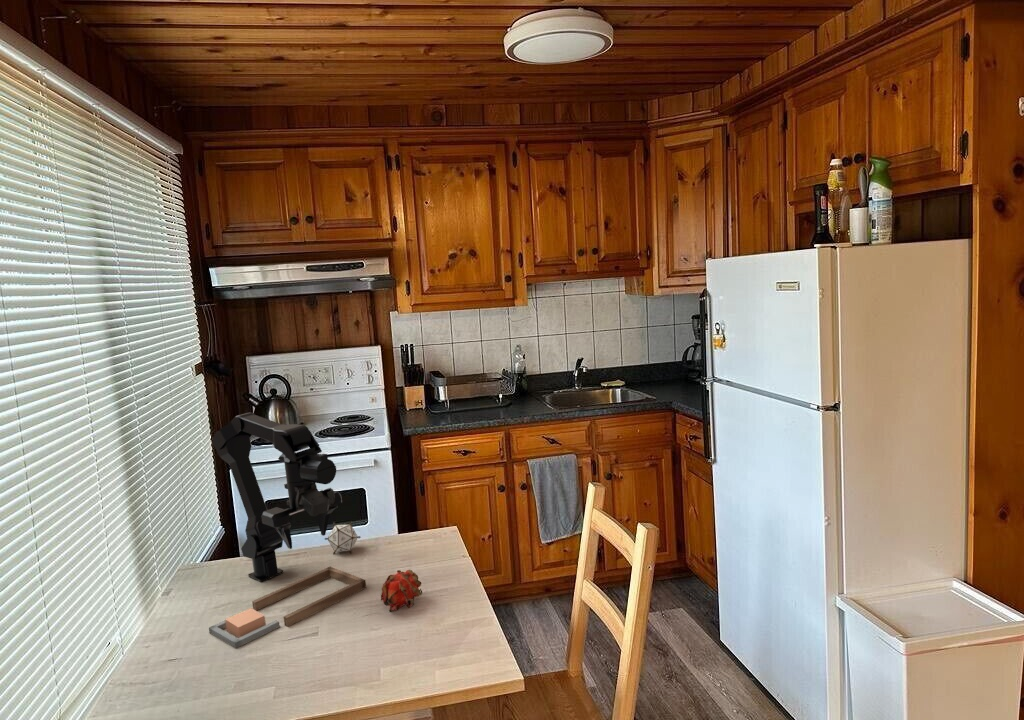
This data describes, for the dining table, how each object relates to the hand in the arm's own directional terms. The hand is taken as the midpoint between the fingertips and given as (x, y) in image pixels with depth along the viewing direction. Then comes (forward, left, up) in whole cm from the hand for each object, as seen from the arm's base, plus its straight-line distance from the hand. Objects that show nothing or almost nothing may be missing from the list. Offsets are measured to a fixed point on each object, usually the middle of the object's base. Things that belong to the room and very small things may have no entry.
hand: (307, 541), depth 171 cm
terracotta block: (+4, -20, -12) cm, 23 cm away
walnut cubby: (+4, -4, -12) cm, 13 cm away
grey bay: (+4, -19, -12) cm, 23 cm away
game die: (-12, +18, -12) cm, 25 cm away
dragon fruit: (+26, +6, -12) cm, 29 cm away
